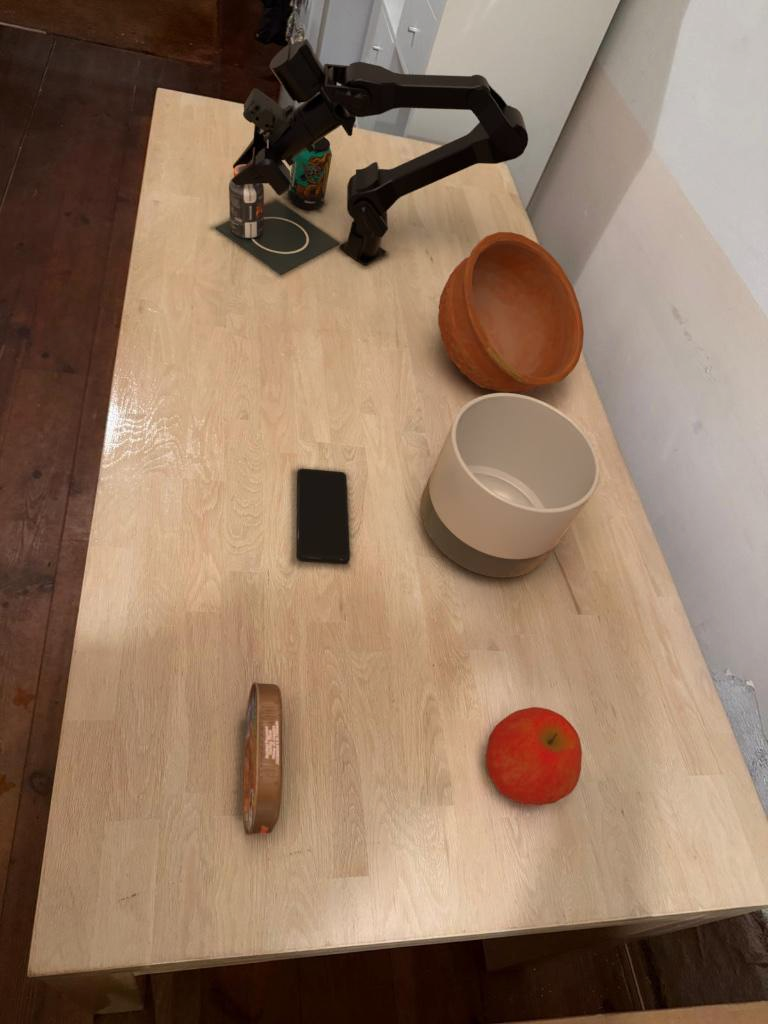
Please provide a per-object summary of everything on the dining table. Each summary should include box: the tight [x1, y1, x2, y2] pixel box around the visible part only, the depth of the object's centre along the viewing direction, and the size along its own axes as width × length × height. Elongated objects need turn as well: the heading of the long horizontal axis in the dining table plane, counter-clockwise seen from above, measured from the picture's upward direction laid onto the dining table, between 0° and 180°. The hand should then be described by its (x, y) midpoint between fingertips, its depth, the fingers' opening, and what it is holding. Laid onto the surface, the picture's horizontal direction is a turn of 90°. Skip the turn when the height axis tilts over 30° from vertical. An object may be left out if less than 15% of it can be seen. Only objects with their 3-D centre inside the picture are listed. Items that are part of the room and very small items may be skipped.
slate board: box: [214, 199, 341, 276], centre depth 135 cm, size 16×16×1 cm
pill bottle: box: [228, 164, 265, 238], centre depth 129 cm, size 6×6×11 cm
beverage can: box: [287, 136, 333, 211], centre depth 140 cm, size 7×7×12 cm
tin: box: [242, 681, 283, 836], centre depth 76 cm, size 15×3×8 cm, turn 5°
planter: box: [420, 392, 601, 578], centre depth 98 cm, size 19×19×18 cm
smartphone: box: [296, 468, 351, 564], centre depth 100 cm, size 7×1×15 cm
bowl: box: [437, 231, 585, 393], centre depth 121 cm, size 25×25×15 cm
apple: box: [485, 706, 583, 806], centre depth 81 cm, size 10×10×10 cm
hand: (234, 175), depth 125 cm, fingers closed on pill bottle, 4 cm apart
